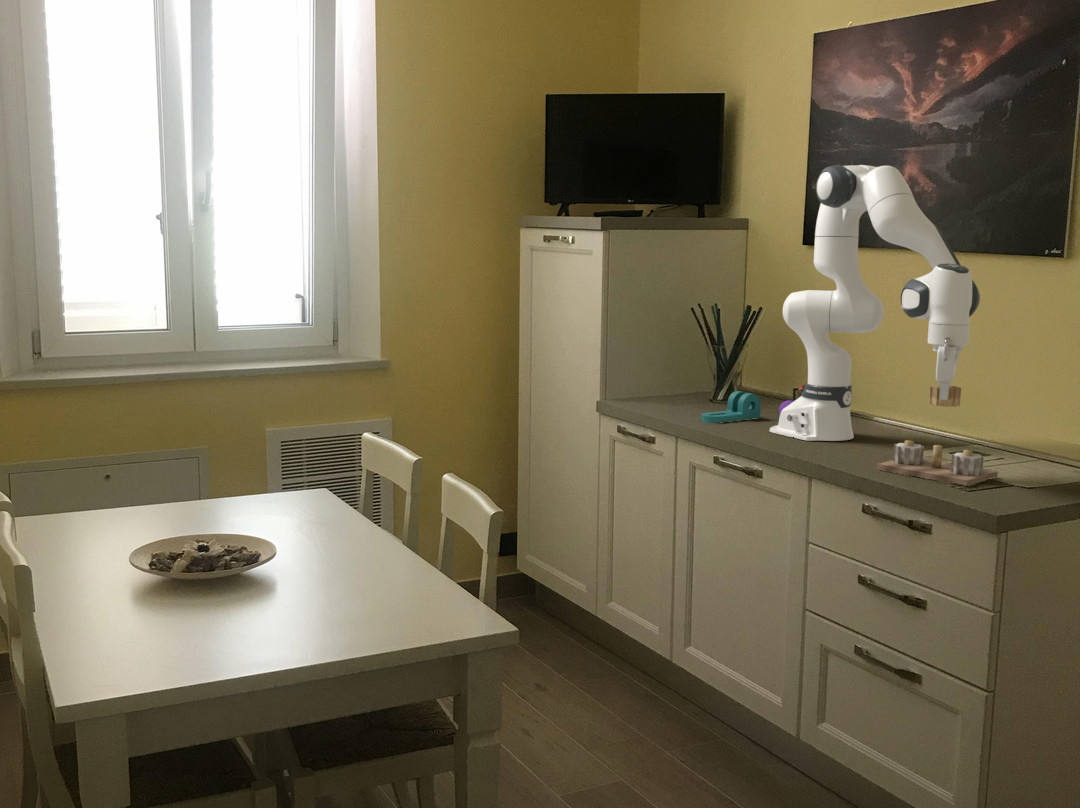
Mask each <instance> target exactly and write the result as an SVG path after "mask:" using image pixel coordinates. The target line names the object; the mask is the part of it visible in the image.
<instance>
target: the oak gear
mask: <svg viewBox="0 0 1080 808" xmlns="http://www.w3.org/2000/svg"><path fill="white" fill-rule="evenodd" d="M961 392H962V387H959V386H956V385H950V386H949V392H948V399H947V400H941V399H940V384H938V385H936V384H935V385H930V386H929V393H928V394H929V396H928V405H932V406H938V407H954V408H955V407H960V406H961V395H962V393H961Z"/></svg>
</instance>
